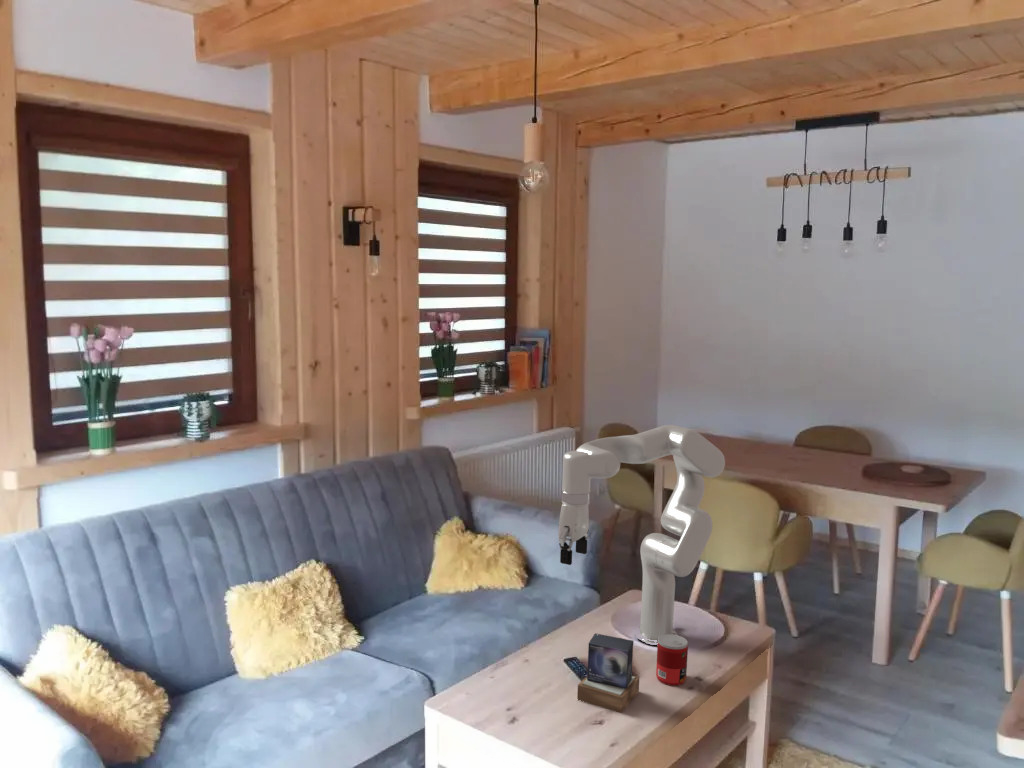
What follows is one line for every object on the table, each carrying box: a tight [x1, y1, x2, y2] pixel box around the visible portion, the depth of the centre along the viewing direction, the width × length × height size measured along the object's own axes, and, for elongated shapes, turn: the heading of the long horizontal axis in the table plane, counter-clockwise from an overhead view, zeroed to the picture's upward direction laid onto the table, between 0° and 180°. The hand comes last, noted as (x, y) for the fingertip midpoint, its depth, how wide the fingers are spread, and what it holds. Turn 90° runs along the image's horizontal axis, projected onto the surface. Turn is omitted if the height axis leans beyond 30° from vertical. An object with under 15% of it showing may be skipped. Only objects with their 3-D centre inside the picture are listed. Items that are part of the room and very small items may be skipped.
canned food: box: [655, 634, 689, 687], centre depth 225 cm, size 8×8×11 cm
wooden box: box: [576, 675, 640, 714], centre depth 216 cm, size 12×12×4 cm
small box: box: [586, 633, 635, 689], centre depth 216 cm, size 11×6×10 cm, turn 69°
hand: (573, 558), depth 229 cm, fingers open, 9 cm apart
